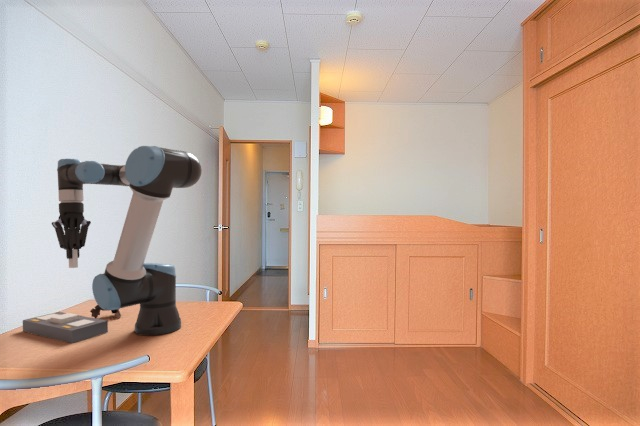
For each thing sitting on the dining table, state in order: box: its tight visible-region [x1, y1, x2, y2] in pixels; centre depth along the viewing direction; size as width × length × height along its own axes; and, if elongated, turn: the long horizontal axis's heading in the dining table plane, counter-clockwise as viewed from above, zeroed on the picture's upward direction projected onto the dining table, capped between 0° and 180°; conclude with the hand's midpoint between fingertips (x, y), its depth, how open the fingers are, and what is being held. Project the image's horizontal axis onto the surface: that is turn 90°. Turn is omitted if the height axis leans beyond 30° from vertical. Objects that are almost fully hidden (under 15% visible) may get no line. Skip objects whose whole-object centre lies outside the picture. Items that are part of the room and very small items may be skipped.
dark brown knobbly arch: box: [89, 304, 122, 320], centre depth 149 cm, size 12×10×8 cm
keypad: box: [22, 311, 109, 344], centre depth 132 cm, size 28×12×4 cm, turn 64°
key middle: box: [50, 312, 80, 324], centre depth 132 cm, size 6×6×3 cm
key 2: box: [66, 319, 95, 327], centre depth 128 cm, size 6×6×3 cm
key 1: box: [36, 313, 58, 321], centre depth 136 cm, size 6×6×3 cm
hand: (73, 267), depth 137 cm, fingers closed
